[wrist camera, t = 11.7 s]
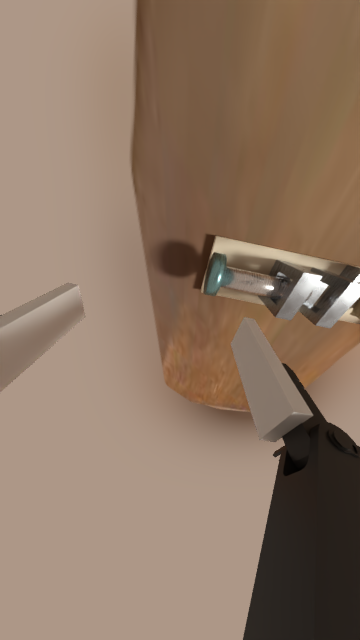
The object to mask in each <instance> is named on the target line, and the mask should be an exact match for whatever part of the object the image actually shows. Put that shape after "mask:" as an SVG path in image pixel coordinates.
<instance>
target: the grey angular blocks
mask: <svg viewBox="0 0 360 640" xmlns="http://www.w3.org/2000/svg"><path fill="white" fill-rule="evenodd" d="M269 275H270V276H274V277H279V278H284V279H289V280H290V279H292V282H291V283H290V285H289V287H288V288H287V290H286V292H285V293H284V295H283V296H282V298H281V299H276V298H271V297H267V296H262V295H258V297H259V298H260V300H261V301H262V302H263V303H264V304H265V306H266V307H267V308H268V309H269V310H270V311H271V313H272V314H273V315H274V316H275V317H277V318H282V319H287V320H292V318H293V317H294V315H295V314H296V313H297V311H299V312H301V313H302V314H303V315H304V316H305V317H306V318H307V319H309V320H310V321H311V322H312V323H313V324H314V325H317V326H322V327H327V328H331V327H332V326H333V325H334V324H335V323H336V322H337V321H338V320H339V319H340V318H341V317H342V315H343V314H344V313H345V312H346V311H347V310H348V309H349V308H350V307H351V306H352V305H353V304H354V303H355V302H356V301H357V299H358V298H359V297H360V283H359V281H360V268H359V267H356V266H352V265H347V266H346V267H345V268H344V270H343V271H342V272H341V273H340V275H338V274H335V273H332V272H330V271H327V270H323V269H318V268H314V267H312V269H311V270H310V271H309V270H307V269H304V268H302V267H300V266H297V265H295V264H293V263H290V262H286V261H281V260H276V261H275V263H274V265H273V267H272V269H271V271H270V273H269ZM328 285H329V286H330V288H329V289H328V290H327V291H326V293H325V294H324V295H323V296H322V298H321V299H320V300H319V302H318V303H317V304H316V305H314V303H315V302H316V301H317V299H318V298H319V297H320V296H321V294H322V293H323V292H324V290H325V289H326V288H327V286H328ZM312 290H313V291H312ZM311 292H312V295H311V297H310V298H309V299H308V300H307V301H306V302H305V300H306V299H307V297H308V296H309V295H310V293H311Z"/></svg>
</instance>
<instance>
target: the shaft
mask: <svg viewBox="0 0 360 640" xmlns="http://www.w3.org/2000/svg"><path fill="white" fill-rule="evenodd" d="M226 264H227V256H226V254H222V253H217V252H214V253H213V254H212V256H211V259H210V262H209V265H208V268H207V272H206V276H205V281H204V288H203V293H204V294H206V295H211V296H215V295H216V294H217V293H218V291H219V289H220V287H223V288H227V289H232V290H237V291H242V292H247V293H252V294H257V295H262V296H267V297H271V298H276V299H281V298H282V296H283V295H284V293H285V292H286V290H287V288H288V287H289V285H290V283H291V282H292V280H289V279H284V278H279V277H274V276H270V275H265V274H260V273H255V272H251V271H246V270H241V269H236V268H232V267H227V266H226ZM312 291H313V290H312ZM311 295H312V292H311V293H310V295H309V296H308V297H307V299H306V300H305V302H306V301H307V300H308V299H309V298H310V297H311Z"/></svg>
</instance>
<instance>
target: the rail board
mask: <svg viewBox="0 0 360 640" xmlns="http://www.w3.org/2000/svg"><path fill="white" fill-rule="evenodd" d="M214 252H217V253H222V254H226V256H227V264H226V266H227V267H232V268H236V269H241V270H246V271H251V272H255V273H260V274H265V275H269V273H270V271H271V269H272V267H273V265H274V263H275V261H276V260H281V261H286V262H290V263H293V264H295V265H297V266H300V267H302V268H304V269H307V270H309V271H310V270H311V269H312V267H314V268H318V269H323V270H327V271H330V272H332V273H335V274H338V275H340V273H341V272H342V271H343V270H344V268H345V267H346V266H347V265H350V264H345V263H340V262H336V261H331V260H327V259H322V258H317V257H313V256H308V255H304V254H299V253H294V252H290V251H285V250H280V249H276V248H271V247H267V246H262V245H257V244H253V243H248V242H244V241H239V240H234V239H230V238H225V237H221V236H216V235H215V239H214V242H213V246H212V249H211V253H210V257H209V260H208V264H207V268H208V265H209V262H210V259H211V256H212V254H213V253H214ZM352 266H354V265H352ZM356 267H359V266H356ZM207 268H206V271H205V275H204V279H203V282H202V286H201V292H203V288H204V281H205V276H206V272H207ZM359 268H360V267H359ZM290 280H292V279H290ZM359 283H360V281H359ZM329 288H330V286H329V285H328V286H327V288H326V289H325V290H324V292H323V293H322V294H321V296H320V297H319V298H318V299H317V301H316V302H315V303H314V305H316V304H317V303H318V302H319V300H320V299H321V298H322V296H323V295H324V294H325V293H326V291H327V290H328V289H329ZM216 295H218V296H223V297H228V298H233V299H238V300H243V301H247V302H252V303H257V304H262V305H265V304H264V303H263V302H262V301H261V300H260V298H259V297H258V295H257V294H252V293H247V292H242V291H237V290H232V289H227V288H223V287H220V289H219V291H218V293H217V294H216ZM359 299H360V297H359V298H358V299H357V301H356V302H355V303H354V304H353V305H352V306H351V307H350V308H349V309H348V310H347V311H346V312H345V313H344V314H343V315H342V317H341V318H340V319H339V320H341V321H346V322H351V323H356V324H360V319H359V318H357V317H356V316H352V315H350V313H351V312H352V310H353V308H354V307H355V306H356V304H357V303H358V301H359ZM297 312H299V311H297Z"/></svg>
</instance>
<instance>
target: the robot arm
mask: <svg viewBox="0 0 360 640" xmlns="http://www.w3.org/2000/svg"><path fill="white" fill-rule="evenodd" d="M83 318H85V313H84V309H83V303H82V299H81V294H80V289H79V285H76V284H71V283H66V284H64V285H62V286H60V287H58V288H56V289H54V290H53V291H50V292H48V293H46V294H44V295H42V296H40V297H38V298H36V299H34V300H32V301H30V302H28V303H26V304H24V305H22V306H20V307H18V308H16V309H14V310H12V311H9V312H8V313H5V314H3V315H0V392H1V391H2V390H3V389H4V388H5V387H7V386H8V385H9V384H10V383H11V382H12V381H13V380H14V379H16V378H17V377H18V376H19V375H20V374H21V373H22V372H24V371H25V370H26V369H27V368H28V367H29V366H30V365H32V364H33V363H34V362H35V361H36V360H37V359H38V358H39V357H41V356H42V355H43V354H44V353H45V352H46V351H47V350H48V349H50V348H51V347H52V346H53V345H54V344H55V343H56V342H58V341H59V340H60V339H61V338H62V337H63V336H64V335H65V334H67V333H68V332H69V331H70V330H71V329H72V328H73V327H74V326H75V325H77V324H78V323H79V322H80V321H81V320H82V319H83ZM231 347H232V350H233V353H234V357H235V360H236V363H237V367H238V370H239V373H240V377H241V380H242V383H243V387H244V390H245V393H246V397H247V400H248V403H249V407H250V410H251V413H252V417H253V420H254V423H255V427H256V430H257V433H258V437H259V440H265V441H270V442H276V441H277V440H279V439H280V438H283V440H284V443H285V446H283V447H281V448H280V449H279V450H277V451H275V452H274V454H273V456H274V457H277V456H278V455H280V454H281V456H280V460H279V465H278V470H277V475H276V480H275V485H274V490H273V495H272V500H271V505H270V509H269V514H268V519H267V524H266V529H265V534H264V539H263V544H262V549H261V553H260V559H259V564H258V569H257V573H256V578H255V584H254V588H253V593H252V598H251V603H250V607H249V612H248V617H247V622H246V627H245V632H244V637H243V640H360V447H359V446H357V445H356V443H355V442H354V441H353V440H352V439H351V438H350V437H349V436H348V435H347V434H346V433H345V432H344V431H343V430H341V429H340V428H339V427H337V426H335V425H333V424H331V423H328V422H327V421H326V420H325V418H324V417H323V415H322V414H321V412H320V411H319V409H318V408H317V406H316V405H315V403H314V402H313V400H312V399H311V397H310V396H309V394H308V393H307V391H306V390H304V386H303V385H302V383H301V382H299V381H300V380H299V379H298V377H297V376H296V374H295V373H294V372H293V371H292V370H291V369H290V368H289V367H288V366H287V365H286V364H284V363H281V362H280V360H279V359H278V357H277V355H276V354H275V352H274V350H273V349H272V347H271V346H270V344H269V342H268V341H267V339H266V338H265V336H264V334H263V333H262V331H261V329H260V328H259V326H258V325H257V323H256V321H255V320H254V319H251V318H246V317H244V318H243V320H242V322H241V324H240V326H239V328H238V330H237V332H236V335H235V337H234V339H233V341H232V343H231Z"/></svg>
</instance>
